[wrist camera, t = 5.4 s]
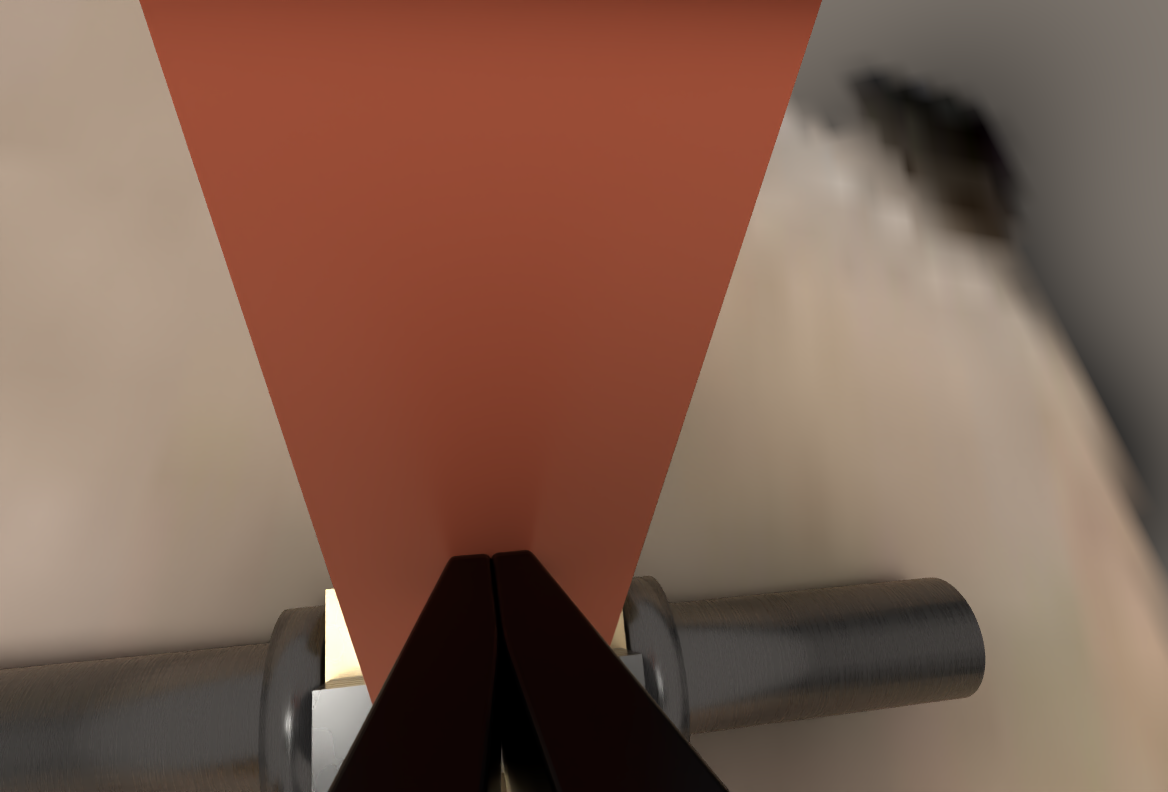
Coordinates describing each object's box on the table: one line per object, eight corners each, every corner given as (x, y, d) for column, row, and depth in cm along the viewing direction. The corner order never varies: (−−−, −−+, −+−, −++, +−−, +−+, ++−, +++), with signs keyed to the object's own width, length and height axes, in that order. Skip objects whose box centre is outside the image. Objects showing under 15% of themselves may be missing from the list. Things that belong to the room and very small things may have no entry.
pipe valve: (928, 729, 20) (1111, 781, 14) (-84, 873, 15) (-392, 1027, 10) (891, 543, 21) (1046, 524, 15) (-52, 627, 17) (-309, 641, 11)
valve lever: (676, 765, 13) (1768, -754, 2) (282, 821, 12) (-2653, -2326, 1) (654, 660, 15) (1243, -630, 3) (294, 701, 14) (-734, -1139, 2)
